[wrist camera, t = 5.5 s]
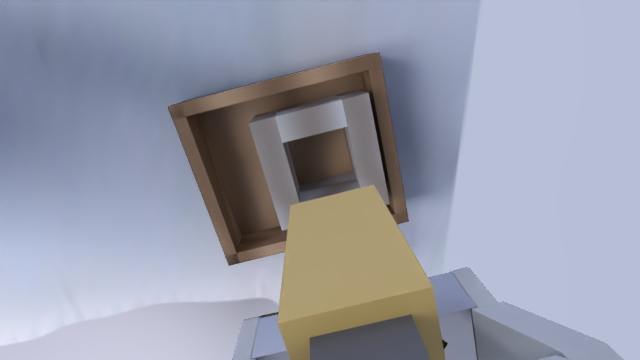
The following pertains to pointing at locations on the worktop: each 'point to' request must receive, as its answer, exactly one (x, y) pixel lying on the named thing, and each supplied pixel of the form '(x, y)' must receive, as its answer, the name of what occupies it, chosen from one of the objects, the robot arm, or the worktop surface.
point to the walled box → (289, 149)
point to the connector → (354, 284)
